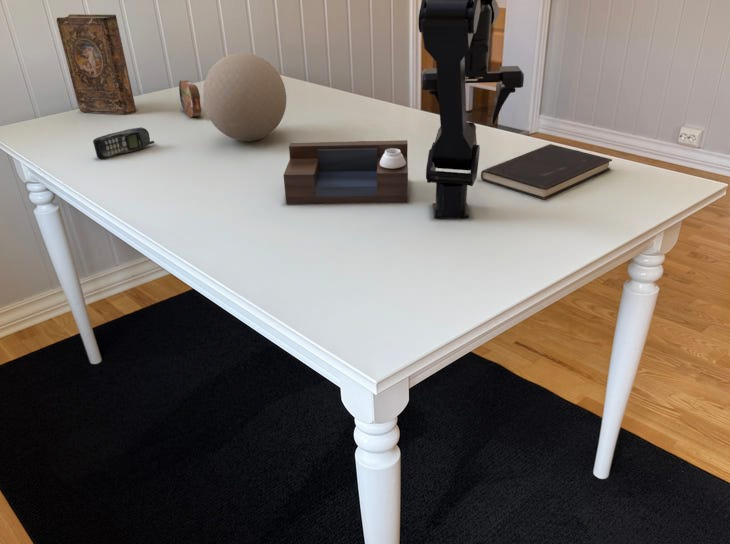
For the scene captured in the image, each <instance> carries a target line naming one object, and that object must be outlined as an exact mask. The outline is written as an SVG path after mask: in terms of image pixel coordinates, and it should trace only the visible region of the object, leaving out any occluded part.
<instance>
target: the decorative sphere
mask: <svg viewBox="0 0 730 544" xmlns="http://www.w3.org/2000/svg"><path fill="white" fill-rule="evenodd" d="M286 90H287V89H286V86H285V83H284V81H283V78H282V76H281V75H280V73H279V72H278V70H277V69H276V67H274V65H272V64H271V63H270V62H269V61H268V60H266V59H265V58H263V57H261V56H259V55H256V54H254V53H249V52H235V53H231V54H228V55H226V56H224V57H222V58H220V59H219V60H218V61H217V62H215V63H214V65H213V66H212V67H211V68H210V69H209V71H208V72H207V74H206V77H205V79H204V83H203V88H202V100H203V101H202V102H203V106H204V109H205V113H206V115H207V117H208V119H209V120H210V122H211V124H212V125H213V126H214V127H215V128H216V129H217V130H218V131H219V132H221V133H222V134H223V135H225V136H226V137H228V138H231V139H233V140H236V141H241V142H253V141H258V140H261V139H263V138H265V137H267V136H269V135H270V134H272V133H273V132H274V131H275V130H276V129H277V128H278V126H279V125H280V123H281V121H282V120H283V118H284V115H285V112H286V108H287V91H286Z"/></svg>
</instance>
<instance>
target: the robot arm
mask: <svg viewBox="0 0 730 544" xmlns="http://www.w3.org/2000/svg"><path fill="white" fill-rule="evenodd" d="M499 14H500V7H499V4H498V1H497V0H421V3H420V8H419V13H418V20H417V21H418V31H419V33H421V36H422V42H423V48H424V50H425V51H426V53H427V54H428V55H429V56H430V57H431V58H432V59H433V60H434V61H435V67H426V68H424V69H423V70H422V71H421V89H422V90H423V91H428V94H429V95H430V96H431V95H432V96H433V95H434V97H435V100H436V102H437V104H438V109H439V124H440V127H439V128H438V129H437V133H436V136H435V138H434V139H435V140H434V141H433V142H432V144H431V148H430V149H428V156H427V161H426V169H425V180H426V183H428V184H430V183H432V184H435V202H433V203H432V214H433V218H434V219H469V218H470V212H469V211H470V210H469V207H468V206H469V205H468V203H467V200H468V186H469V187H473V186H474V184H475V182H476V180H477V178H478V170H479V160H480V149H481V148H480V147H481V146H480V144H478V142H477V126H476V124H475V122H472V121H471V122H470V121H468V120H467V94H466V89H467V88H466V84H485V83H486V84H487V83H488V84H489V83H490V84H491V83H496V85H495V95H494V100H493V105H492V112H491V118H490V119H491V125H494V124H495V123H496V121H497V118H498V116H499V114H500V112H501V109H502V107H503V106H504V103H505V102H506V101H507V99H508V97H509V96H510V94H513V93H516V91H517V90H516V89H520V88H521V89H522V88H523V87H524V81H525V79H524V78H525V73H524V72H523V71H522V69H521V67H520V66H518V65H502V66H499V70H498V71H489V69H488V68H489V56H490V41H491V28H492V26H493V25H494V24H495V22H496V21H497V20H498V17H499ZM437 169H441V170H437ZM444 170H453V171H444ZM455 170H456V171H455ZM458 171H467V172H458ZM468 171H470V172H468Z"/></svg>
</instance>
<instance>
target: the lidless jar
mask: <svg viewBox="0 0 730 544" xmlns="http://www.w3.org/2000/svg"><path fill="white" fill-rule="evenodd" d="M405 164H406V161H405V159H404V157H403V155H402V154H401V151H400V150H399V149H387V150H385V154H383V156H382V158H381V160H380V166H382V167H384V168H388V169H397V168H400V167H402V166H404V165H405Z"/></svg>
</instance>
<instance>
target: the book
mask: <svg viewBox="0 0 730 544" xmlns="http://www.w3.org/2000/svg"><path fill="white" fill-rule="evenodd" d="M56 25H57V29H58V32H59V36H60V40H61V45H62V49H63V51H64V55H65V60H66V64H67V67H68V72H69V75H70V79H71V83H72V87H73V92H74V95H75V99H76V104H77V106H78V109H79V110H80V112H82V113H88V114H89V113H90V114H107V115H109V114H110V115H125V116H126V115H130V114H133V113H135V112H136V111H137V107H136V103H135V98H134V94H133V89H132V85H131V84H132V83H131V79H130V75H129V70H128V66H127V61H126V55H125V51H124V45H123V42H122V37H121V34H120V27H119V23H118V18H117V14H90V13H89V14H88V13H87V14H84V13H83V14H79V13H78V14H74V13H73V14H72V13H71V14H68V15H67V16H66V17H65V16H64V17H62V16H61V17H59V16H58V17H57V18H56Z"/></svg>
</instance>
